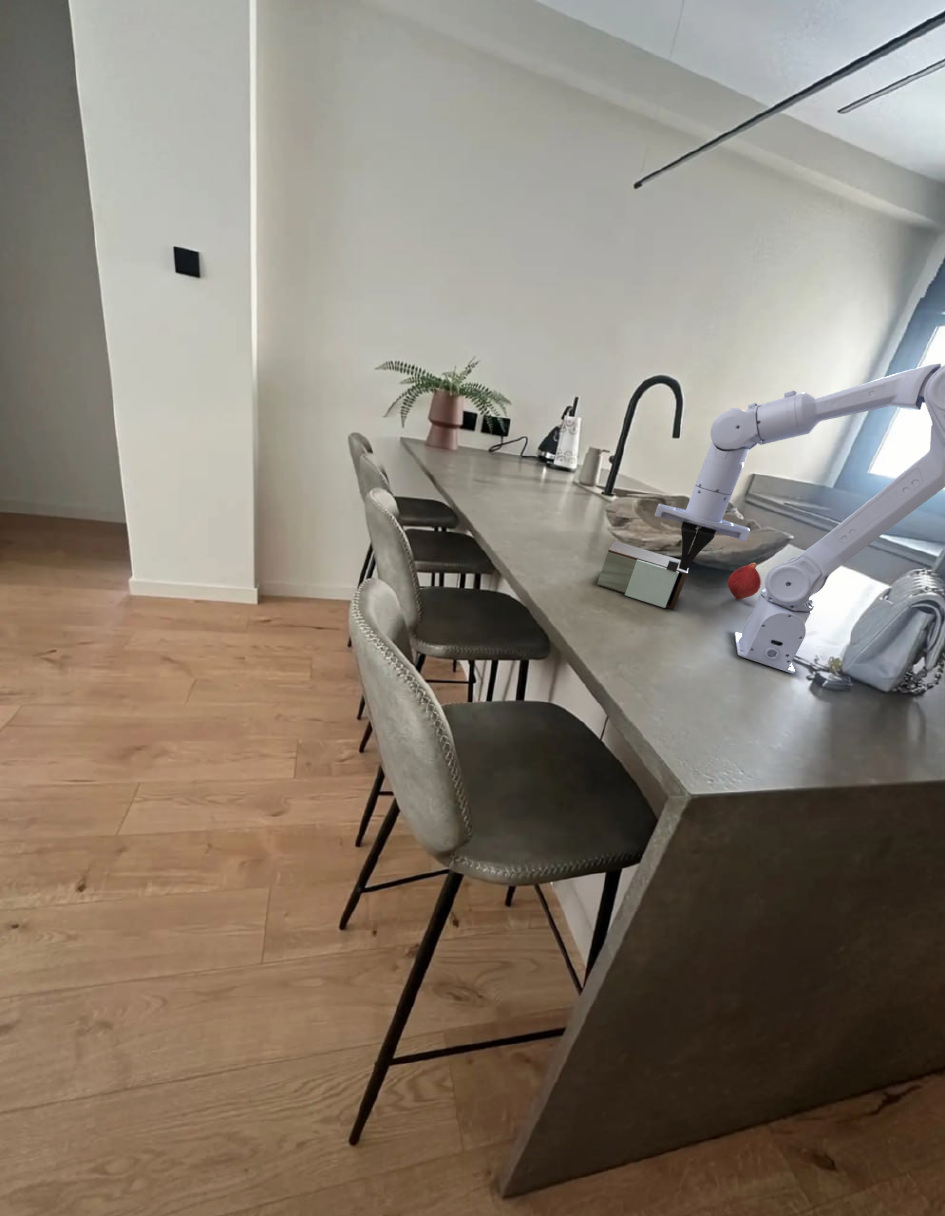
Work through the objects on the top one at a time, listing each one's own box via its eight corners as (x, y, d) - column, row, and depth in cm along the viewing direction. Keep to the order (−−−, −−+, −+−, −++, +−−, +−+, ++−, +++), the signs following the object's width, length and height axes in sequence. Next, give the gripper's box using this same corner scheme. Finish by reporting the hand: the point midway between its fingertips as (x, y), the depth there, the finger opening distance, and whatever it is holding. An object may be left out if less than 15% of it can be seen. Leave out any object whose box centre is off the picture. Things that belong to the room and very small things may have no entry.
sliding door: (664, 608, 92) (682, 564, 89) (624, 595, 94) (639, 551, 91) (665, 606, 93) (682, 562, 90) (625, 593, 95) (640, 550, 92)
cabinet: (673, 610, 93) (687, 574, 90) (596, 585, 97) (608, 550, 94) (675, 596, 100) (688, 562, 97) (603, 574, 104) (614, 540, 101)
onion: (724, 599, 105) (740, 562, 101) (720, 590, 110) (735, 554, 107) (754, 608, 104) (772, 570, 100) (749, 598, 109) (765, 562, 105)
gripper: (758, 498, 86) (725, 575, 91) (668, 475, 89) (642, 550, 95) (763, 504, 79) (727, 586, 85) (666, 479, 83) (638, 559, 89)
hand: (682, 568), depth 90 cm, fingers closed
